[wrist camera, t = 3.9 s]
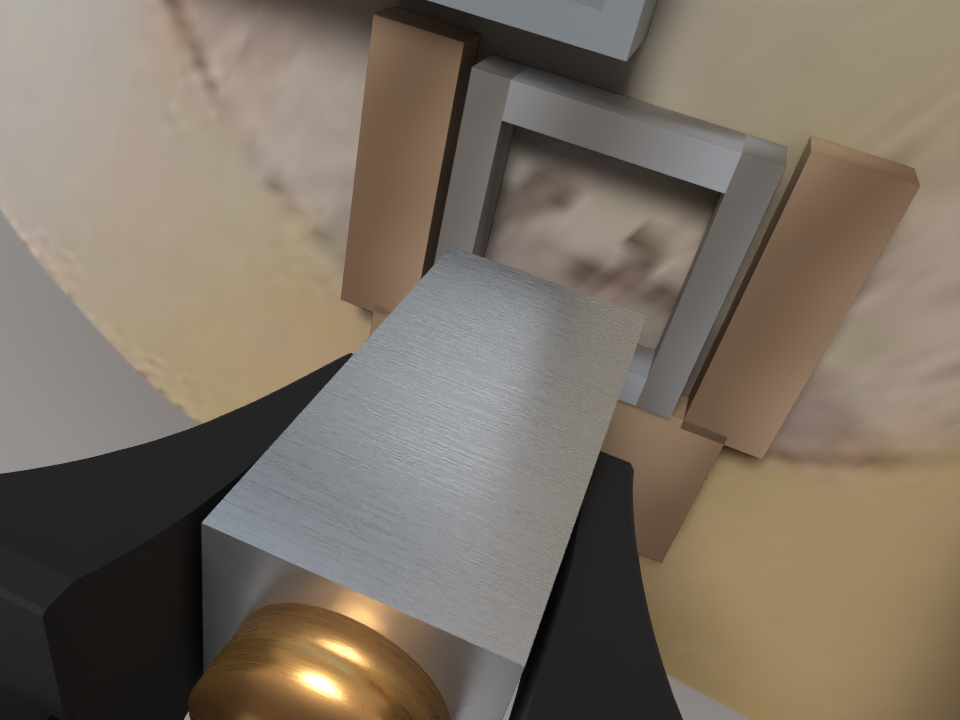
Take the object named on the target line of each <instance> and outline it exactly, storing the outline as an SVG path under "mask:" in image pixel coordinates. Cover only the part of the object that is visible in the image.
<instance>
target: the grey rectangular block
mask: <svg viewBox="0 0 960 720" xmlns="http://www.w3.org/2000/svg"><path fill="white" fill-rule="evenodd" d="M646 318H647V316H644V315H642V314H639V313H636V312H633V311H630V310H628V309H625V308H622V307H619V306H617V305H614V304H611V303H608V302H606V301H603V300H600V299H597V298H594V297H592V296H589V295H586V294H583V293H581V292H578V291H575V290H572V289H569V288H567V287H564V286H561V285H558V284H556V283H553V282H550V281H547V280H544V279H542V278H539V277H536V276H533V275H531V274H528V273H525V272H522V271H519V270H517V269H514V268H511V267H508V266H506V265H503V264H500V263H497V262H494V261H492V260H489V259H486V258H483V257H481V256H478V255H475V254H472V253H470V252H467V251H464V250H461V249H458V248H456V247H453V246H451V247H450V248H449V249H448V250H447V251H446V253H445V254H444V255H443V256H442V257H441V258H440V259H439V260H438V261H437V262H436V264H435V265H434V266H433V267H432V268H431V269H430V270H429V271H428V272H427V274H426V275H425V276H424V277H423V278H422V279H421V280H420V281H419V282H418V284H417V285H416V286H415V287H414V288H413V289H412V290H411V291H410V292H409V293H408V295H407V296H406V297H405V298H404V299H403V300H402V301H401V302H400V303H399V305H398V306H397V307H396V308H395V309H394V310H393V311H392V312H391V313H390V315H389V316H388V317H387V318H386V319H385V320H384V321H383V322H382V323H381V325H380V326H379V327H378V328H377V329H376V330H375V331H374V332H373V333H372V334H371V336H370V337H369V338H368V339H367V340H366V341H365V342H364V343H363V344H362V346H361V347H360V348H359V349H358V350H357V351H356V352H355V353H354V354H353V356H352V357H351V358H350V359H349V360H348V361H347V362H346V363H345V364H344V365H343V367H342V368H341V369H340V370H339V371H338V372H337V373H336V374H335V375H334V377H333V378H332V379H331V380H330V381H329V382H328V383H327V384H326V385H325V387H324V388H323V389H322V390H321V391H320V392H319V393H318V394H317V395H316V396H315V398H314V399H313V400H312V401H311V402H310V403H309V404H308V405H307V406H306V408H305V409H304V410H303V411H302V412H301V413H300V414H299V415H298V416H297V418H296V419H295V420H294V421H293V422H292V423H291V424H290V425H289V426H288V428H287V429H286V430H285V431H284V432H283V433H282V434H281V435H280V436H279V437H278V439H277V440H276V441H275V442H274V443H273V444H272V445H271V446H270V447H269V449H268V450H267V451H266V452H265V453H264V454H263V455H262V456H261V457H260V459H259V460H258V461H257V462H256V463H255V464H254V465H253V466H252V467H251V468H250V470H249V471H248V472H247V473H246V474H245V475H244V476H243V477H242V478H241V480H240V481H239V482H238V483H237V484H236V485H235V486H234V487H233V488H232V490H231V491H230V492H229V493H228V494H227V495H226V496H225V497H224V498H223V499H222V501H221V502H220V503H219V504H218V505H217V506H216V507H215V508H214V509H213V511H212V512H211V513H210V514H209V515H208V516H207V517H206V518H205V519H204V521H203V522H202V523H201V530H202V598H203V666H204V674H203V676H202V677H201V678H200V680H199V681H198V682H197V684H196V685H195V686H194V688H193V689H192V691H191V693H190V696H189V701H188V709H189V716H190V719H191V720H502V719H503V717H504V715H505V712H506V710H507V708H508V705H509V703H510V700H511V698H512V696H513V693H514V691H515V688H516V686H517V684H518V681H519V679H520V677H521V674H522V672H523V670H524V667H525V664H526V662H527V659H528V656H529V653H530V650H531V647H532V644H533V641H534V639H535V636H536V633H537V630H538V627H539V624H540V621H541V619H542V616H543V613H544V610H545V607H546V604H547V601H548V598H549V596H550V593H551V590H552V587H553V584H554V581H555V578H556V576H557V573H558V570H559V567H560V564H561V561H562V558H563V555H564V553H565V550H566V547H567V544H568V541H569V538H570V535H571V533H572V530H573V527H574V524H575V521H576V518H577V515H578V512H579V510H580V507H581V504H582V501H583V498H584V495H585V492H586V490H587V487H588V484H589V481H590V478H591V475H592V472H593V469H594V467H595V464H596V461H597V458H598V455H599V452H600V449H601V447H602V444H603V441H604V438H605V435H606V432H607V429H608V427H609V424H610V421H611V418H612V415H613V412H614V409H615V406H616V404H617V401H618V398H619V395H620V392H621V389H622V386H623V384H624V381H625V378H626V375H627V372H628V369H629V366H630V363H631V361H632V358H633V355H634V352H635V349H636V346H637V343H638V341H639V338H640V335H641V332H642V329H643V326H644V323H645V320H646Z"/></svg>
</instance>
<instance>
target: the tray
mask: <svg viewBox="0 0 960 720" xmlns="http://www.w3.org/2000/svg"><path fill="white" fill-rule="evenodd" d="M428 1H431V2H435V3H438V4H441V5H444V6H448V7H451V8H454V9H457V10H461V11H464V12H467V13H470V14H474V15H477V16H480V17H483V18H487V19H490V20H493V21H496V22H500V23H503V24H506V25H509V26H513V27H516V28H519V29H522V30H526V31H529V32H532V33H535V34H539V35H542V36H545V37H548V38H552V39H555V40H558V41H561V42H565V43H568V44H571V45H574V46H578V47H581V48H584V49H587V50H591V51H594V52H597V53H600V54H604V55H607V56H610V57H613V58H617V59H620V60H623V61H627V60H628V59H629V58H630V57H631V55H632V54H633V53H634V52H635V51H636V49H637V48H638V47H639V46H640V45H641V44H642V42H643V41H644V40H645V39H646V36H647V33H648V29H649V26H650V23H651V20H652V17H653V14H654V10H655V7H656V4H657V1H658V0H428Z"/></svg>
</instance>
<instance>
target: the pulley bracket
mask: <svg viewBox="0 0 960 720" xmlns="http://www.w3.org/2000/svg"><path fill="white" fill-rule="evenodd" d="M479 39H480V33H477V32H474V31H471V30H467V29H464V28H461V27H458V26H455V25H451V24H448V23H445V22H442V21H439V20H435V19H432V18H429V17H426V16H422V15H419V14H416V13H413V12H410V11H406V10H403V9H400V8H397V7H391V8H389V9H386V10H384V11H381V12H378V13H376V14H373V22H372V31H371V40H370V49H369V57H368V66H367V75H366V83H365V92H364V101H363V110H362V118H361V127H360V136H359V145H358V153H357V162H356V171H355V180H354V188H353V197H352V206H351V215H350V223H349V232H348V241H347V249H346V258H345V267H344V276H343V284H342V293H341V300H343V301H346V302H348V303H351V304H354V305H356V306H359V307H362V308H364V309H367V310H369V311H372V312H373V316H372V323H371V330H370V336H371V334H372V333H373V332H374V331H375V330H376V329H377V328H378V327H379V326H380V325H381V323H382V322H383V321H384V320H385V319H386V318H387V317H388V316H389V315H390V313H391V312H392V311H393V310H394V309H395V308H396V307H397V306H398V305H399V303H400V302H401V301H402V300H403V299H404V298H405V297H406V296H407V295H408V293H409V292H410V291H411V290H412V289H413V288H414V287H415V286H416V285H417V284H418V282H419V281H420V280H421V279H422V278H423V277H424V276H425V275H426V274H427V272H428V271H429V270H430V269H431V268H432V267H433V266H434V265H435V264H436V262H437V261H438V260H439V259H440V258H441V257H442V256H443V255H444V254H445V253H446V251H447V250H448V249H449V248H450V247H451V246H453V247H456V248H458V249H461V250H464V251H467V252H470V253H472V254H475V255H478V256H481V257H483V258H484V254H485V250H486V246H487V241H488V237H489V233H490V229H491V224H492V220H493V216H494V212H495V207H496V203H497V199H498V195H499V190H500V186H501V182H502V178H503V173H504V169H505V165H506V161H507V156H508V152H509V148H510V144H511V139H512V135H513V131H514V126H515V125H517V126H520V127H523V128H526V129H529V130H532V131H535V132H539V133H542V134H545V135H548V136H551V137H554V138H557V139H560V140H563V141H566V142H569V143H572V144H575V145H578V146H581V147H584V148H587V149H590V150H593V151H596V152H599V153H603V154H606V155H609V156H612V157H615V158H618V159H621V160H624V161H627V162H630V163H633V164H636V165H639V166H642V167H645V168H648V169H651V170H654V171H657V172H660V173H663V174H667V175H670V176H673V177H676V178H679V179H682V180H685V181H688V182H691V183H694V184H697V185H700V186H703V187H706V188H709V189H712V190H715V191H718V192H721V195H720V198H719V200H718V203H717V205H716V207H715V210H714V212H713V215H712V217H711V219H710V222H709V224H708V226H707V229H706V231H705V234H704V236H703V238H702V241H701V243H700V246H699V248H698V250H697V253H696V255H695V258H694V260H693V262H692V265H691V267H690V270H689V272H688V274H687V277H686V279H685V281H684V284H683V286H682V289H681V291H680V293H679V296H678V298H677V301H676V303H675V305H674V308H673V310H672V313H671V315H670V317H669V320H668V322H667V324H666V327H665V329H664V332H663V334H662V336H661V339H660V341H659V344H658V346H657V348H656V351H654V350H651V349H649V348H646V347H643V346H640V345H638V344H637V346H636V349H635V352H634V355H633V358H632V361H631V363H630V366H629V369H628V372H627V375H626V378H625V381H624V384H623V386H622V389H621V392H620V395H619V398H618V401H617V404H616V406H615V409H614V412H613V415H612V418H611V421H610V424H609V427H608V429H607V432H606V435H605V438H604V441H603V444H602V447H601V449H600V451H602V452H604V453H607V454H609V455H612V456H614V457H617V458H620V459H622V460H625V461H627V462H630V463H631V465H632V467H633V469H634V476H633V511H634V526H635V535H636V543H637V551H638V554H641V555H643V556H645V557H648V558H650V559H653V560H655V561H658V562H660V563H662V561H663V559H664V557H665V555H666V553H667V551H668V549H669V548H670V546H671V544H672V542H673V540H674V538H675V536H676V534H677V533H678V531H679V529H680V527H681V525H682V523H683V521H684V519H685V517H686V516H687V514H688V512H689V510H690V508H691V506H692V504H693V502H694V500H695V499H696V497H697V495H698V493H699V491H700V489H701V487H702V485H703V484H704V482H705V480H706V478H707V476H708V474H709V472H710V470H711V468H712V467H713V465H714V463H715V461H716V459H717V457H718V455H719V453H720V451H721V450H722V448H723V446H724V445H726V446H728V447H731V448H734V449H736V450H739V451H742V452H744V453H747V454H750V455H752V456H755V457H757V458H760V459H763V457H764V455H765V453H766V452H767V450H768V448H769V446H770V445H771V443H772V441H773V440H774V438H775V436H776V434H777V433H778V431H779V429H780V427H781V426H782V424H783V422H784V421H785V419H786V417H787V415H788V414H789V412H790V410H791V408H792V407H793V405H794V403H795V402H796V400H797V398H798V396H799V395H800V393H801V391H802V389H803V388H804V386H805V384H806V383H807V381H808V379H809V377H810V376H811V374H812V372H813V370H814V369H815V367H816V365H817V364H818V362H819V360H820V358H821V357H822V355H823V353H824V351H825V350H826V348H827V346H828V345H829V343H830V341H831V339H832V338H833V336H834V334H835V332H836V331H837V329H838V327H839V326H840V324H841V322H842V320H843V319H844V317H845V315H846V313H847V312H848V310H849V308H850V307H851V305H852V303H853V301H854V300H855V298H856V296H857V294H858V293H859V291H860V289H861V288H862V286H863V284H864V282H865V281H866V279H867V277H868V275H869V274H870V272H871V270H872V269H873V267H874V265H875V263H876V262H877V260H878V258H879V256H880V255H881V253H882V251H883V250H884V248H885V246H886V244H887V243H888V241H889V239H890V237H891V236H892V234H893V232H894V231H895V229H896V227H897V225H898V224H899V222H900V220H901V218H902V217H903V215H904V213H905V212H906V210H907V208H908V206H909V205H910V203H911V201H912V199H913V198H914V196H915V194H916V193H917V191H918V189H919V187H920V184H919V181H918V178H917V175H916V172H915V169H914V168H911V167H908V166H904V165H901V164H898V163H895V162H892V161H888V160H885V159H882V158H879V157H876V156H872V155H869V154H866V153H863V152H859V151H856V150H853V149H850V148H847V147H843V146H840V145H837V144H834V143H831V142H827V141H824V140H821V139H818V138H815V137H811V138H810V140H809V142H808V144H807V146H806V148H805V150H804V152H803V155H802V157H801V159H800V161H799V163H798V165H797V167H796V169H795V172H794V174H793V176H792V178H791V180H790V182H789V184H788V186H787V189H786V191H785V193H784V195H783V197H782V199H781V201H780V204H779V206H778V208H777V210H776V212H775V214H774V216H773V218H772V221H771V223H770V225H769V227H768V229H767V231H766V233H765V235H764V238H763V240H762V242H761V244H760V246H759V248H758V250H757V252H756V255H755V257H754V259H753V261H752V263H751V265H750V267H749V269H748V272H747V274H746V276H745V278H744V280H743V282H742V284H741V286H740V289H739V291H738V293H737V295H736V297H735V299H734V301H733V303H732V306H731V308H730V310H729V312H728V314H727V316H726V318H725V320H724V323H723V325H722V327H721V329H720V331H719V333H718V335H717V337H716V340H715V342H714V344H713V346H712V348H711V350H710V352H709V354H708V357H707V359H706V361H705V363H704V365H703V367H702V369H701V371H700V374H699V376H698V378H697V380H696V382H695V384H694V386H693V389H692V391H691V393H690V395H689V397H687V396H685V395H682V394H681V393H682V391H683V389H684V387H685V384H686V382H687V380H688V378H689V376H690V374H691V371H692V369H693V367H694V365H695V363H696V361H697V358H698V356H699V354H700V352H701V350H702V348H703V345H704V343H705V341H706V339H707V337H708V335H709V332H710V330H711V328H712V326H713V324H714V322H715V319H716V317H717V315H718V313H719V311H720V309H721V306H722V304H723V302H724V300H725V298H726V296H727V293H728V291H729V289H730V287H731V285H732V283H733V280H734V278H735V276H736V274H737V272H738V270H739V267H740V265H741V263H742V261H743V259H744V257H745V254H746V252H747V250H748V248H749V246H750V244H751V241H752V239H753V237H754V235H755V233H756V231H757V228H758V226H759V224H760V222H761V220H762V218H763V215H764V213H765V211H766V209H767V207H768V204H769V202H770V200H771V198H772V196H773V194H774V191H775V189H776V187H777V185H778V183H779V181H780V178H781V176H782V174H783V172H784V170H785V168H786V154H787V147H785V146H782V145H778V144H775V143H772V142H769V141H766V140H763V139H759V138H756V137H753V136H750V135H747V134H743V133H740V132H737V131H734V130H731V129H728V128H724V127H721V126H718V125H715V124H712V123H709V122H705V121H702V120H699V119H696V118H693V117H689V116H686V115H683V114H680V113H677V112H674V111H670V110H667V109H664V108H661V107H658V106H655V105H651V104H648V103H645V102H642V101H639V100H635V99H632V98H629V97H626V96H623V95H620V94H616V93H613V92H610V91H607V90H604V89H601V88H597V87H594V86H591V85H588V84H585V83H581V82H578V81H575V80H572V79H569V78H566V77H562V76H559V75H556V74H553V73H550V72H547V71H543V70H540V69H537V68H534V67H531V66H527V65H524V64H521V63H518V62H515V61H512V60H508V59H505V58H502V57H499V56H496V55H493V54H492V55H490V56H489V57H487V58H485V59H484V60H482V61H481V62H479V63H478V64H476V65H475V66H474V64H475V59H476V54H477V49H478V44H479Z"/></svg>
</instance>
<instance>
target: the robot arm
mask: <svg viewBox="0 0 960 720" xmlns="http://www.w3.org/2000/svg"><path fill="white" fill-rule="evenodd" d="M352 356H353V354H352V353H349V354H347V355H345V356H343V357H341V358H339V359H337V360H335V361H333V362H331V363H329V364H327V365H325V366H324V367H322V368H320V369H318V370H316V371H314V372H312V373H310V374H308V375H307V376H305V377H303V378H301V379H299V380H297V381H295V382H293V383H291V384H289V385H287V386H285V387H283V388H281V389H279V390H277V391H275V392H273V393H271V394H269V395H267V396H265V397H263V398H261V399H259V400H257V401H254V402H252V403H250V404H248V405H246V406H243V407H241V408H239V409H236V410H234V411H232V412H229V413H227V414H225V415H223V416H220V417H218V418H216V419H213V420H211V421H208V422H206V423H203V424H201V425H198V426H196V427H193V428H190V429H188V430H185V431H182V432H180V433H176V434H173V435H170V436H167V437H164V438H161V439H158V440H156V441H152V442H148V443H145V444H141V445H138V446H134V447H130V448H126V449H122V450H118V451H115V452H111V453H107V454H103V455H99V456H96V457H91V458H87V459H83V460H78V461H73V462H68V463H63V464H58V465H53V466H47V467H41V468H36V469H30V470H24V471H17V472H11V473H3V474H0V720H184V718H185V716H186V714H187V713H188V711H189V709H188V701H189V696H190V693H191V691H192V689H193V688H194V686H195V685H196V684H197V682H198V681H199V680H200V678H201V677H202V676H203V674H204V666H203V598H202V530H201V523H202V522H203V521H204V519H205V518H206V517H207V516H208V515H209V514H210V513H211V512H212V511H213V509H214V508H215V507H216V506H217V505H218V504H219V503H220V502H221V501H222V499H223V498H224V497H225V496H226V495H227V494H228V493H229V492H230V491H231V490H232V488H233V487H234V486H235V485H236V484H237V483H238V482H239V481H240V480H241V478H242V477H243V476H244V475H245V474H246V473H247V472H248V471H249V470H250V468H251V467H252V466H253V465H254V464H255V463H256V462H257V461H258V460H259V459H260V457H261V456H262V455H263V454H264V453H265V452H266V451H267V450H268V449H269V447H270V446H271V445H272V444H273V443H274V442H275V441H276V440H277V439H278V437H279V436H280V435H281V434H282V433H283V432H284V431H285V430H286V429H287V428H288V426H289V425H290V424H291V423H292V422H293V421H294V420H295V419H296V418H297V416H298V415H299V414H300V413H301V412H302V411H303V410H304V409H305V408H306V406H307V405H308V404H309V403H310V402H311V401H312V400H313V399H314V398H315V396H316V395H317V394H318V393H319V392H320V391H321V390H322V389H323V388H324V387H325V385H326V384H327V383H328V382H329V381H330V380H331V379H332V378H333V377H334V375H335V374H336V373H337V372H338V371H339V370H340V369H341V368H342V367H343V365H344V364H345V363H346V362H347V361H348V360H349V359H350V358H351V357H352ZM633 476H634V469H633V467H632V465H631V463H630V462H627V461H625V460H622V459H620V458H617V457H614V456H612V455H609V454H607V453H604V452H602V451H600V452H599V455H598V458H597V461H596V464H595V467H594V469H593V472H592V475H591V478H590V481H589V484H588V487H587V490H586V492H585V495H584V498H583V501H582V504H581V507H580V510H579V512H578V515H577V518H576V521H575V524H574V527H573V530H572V533H571V535H570V538H569V541H568V544H567V547H566V550H565V553H564V555H563V558H562V561H561V564H560V567H559V570H558V573H557V576H556V578H555V581H554V584H553V587H552V590H551V593H550V596H549V598H548V601H547V604H546V607H545V610H544V613H543V616H542V619H541V621H540V624H539V627H538V630H537V633H536V636H535V639H534V641H533V644H532V647H531V650H530V653H529V656H528V659H527V662H526V664H525V667H524V670H523V672H522V674H521V678H520V682H519V686H518V690H517V694H516V697H515V701H514V704H513V708H512V711H511V714H510V717H509V720H683V719H682V716H681V714H680V711H679V709H678V706H677V704H676V701H675V699H674V696H673V693H672V690H671V687H670V684H669V681H668V678H667V675H666V672H665V669H664V666H663V663H662V660H661V656H660V653H659V650H658V646H657V643H656V639H655V636H654V632H653V628H652V624H651V620H650V616H649V612H648V607H647V602H646V597H645V593H644V588H643V583H642V577H641V571H640V565H639V558H638V551H637V543H636V535H635V526H634V511H633Z"/></svg>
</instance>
